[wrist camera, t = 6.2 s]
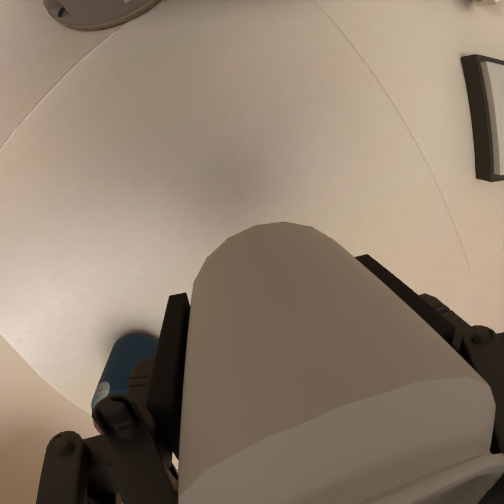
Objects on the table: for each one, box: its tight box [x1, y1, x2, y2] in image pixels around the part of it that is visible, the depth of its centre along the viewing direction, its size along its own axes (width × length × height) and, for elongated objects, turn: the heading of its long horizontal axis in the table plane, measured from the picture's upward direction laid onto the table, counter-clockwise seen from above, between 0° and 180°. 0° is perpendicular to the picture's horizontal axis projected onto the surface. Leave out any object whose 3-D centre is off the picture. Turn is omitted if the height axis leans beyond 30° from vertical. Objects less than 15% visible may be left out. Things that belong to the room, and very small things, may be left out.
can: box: [178, 222, 504, 504], centre depth 9 cm, size 8×8×12 cm
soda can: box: [91, 334, 158, 434], centre depth 29 cm, size 7×7×12 cm
